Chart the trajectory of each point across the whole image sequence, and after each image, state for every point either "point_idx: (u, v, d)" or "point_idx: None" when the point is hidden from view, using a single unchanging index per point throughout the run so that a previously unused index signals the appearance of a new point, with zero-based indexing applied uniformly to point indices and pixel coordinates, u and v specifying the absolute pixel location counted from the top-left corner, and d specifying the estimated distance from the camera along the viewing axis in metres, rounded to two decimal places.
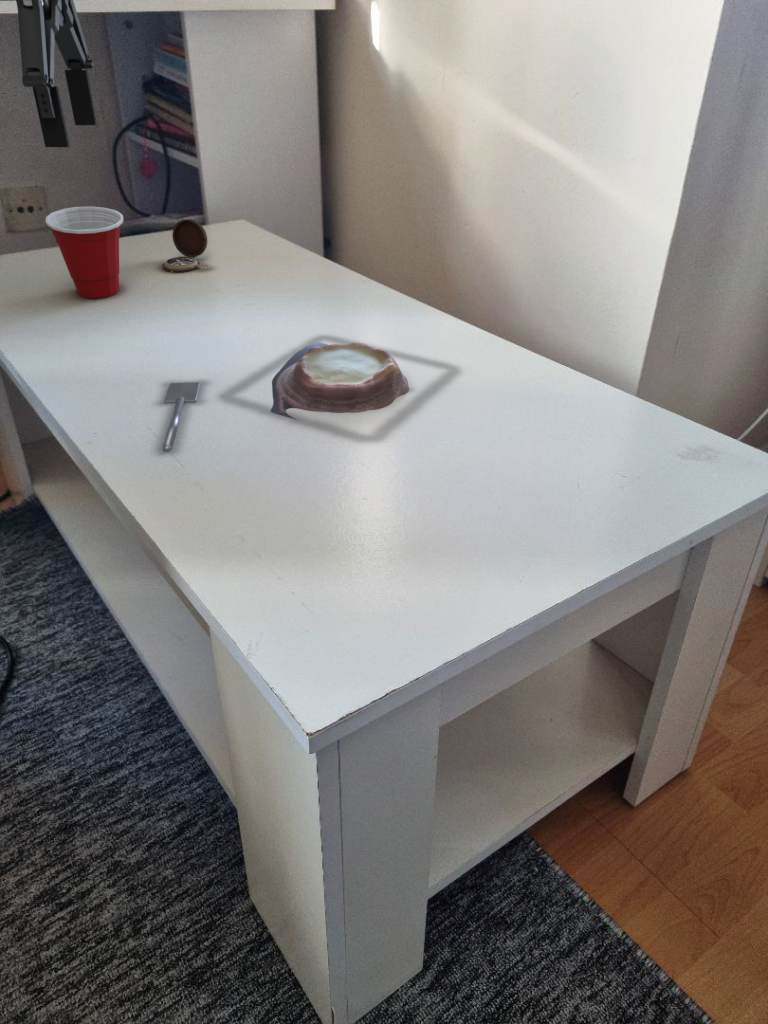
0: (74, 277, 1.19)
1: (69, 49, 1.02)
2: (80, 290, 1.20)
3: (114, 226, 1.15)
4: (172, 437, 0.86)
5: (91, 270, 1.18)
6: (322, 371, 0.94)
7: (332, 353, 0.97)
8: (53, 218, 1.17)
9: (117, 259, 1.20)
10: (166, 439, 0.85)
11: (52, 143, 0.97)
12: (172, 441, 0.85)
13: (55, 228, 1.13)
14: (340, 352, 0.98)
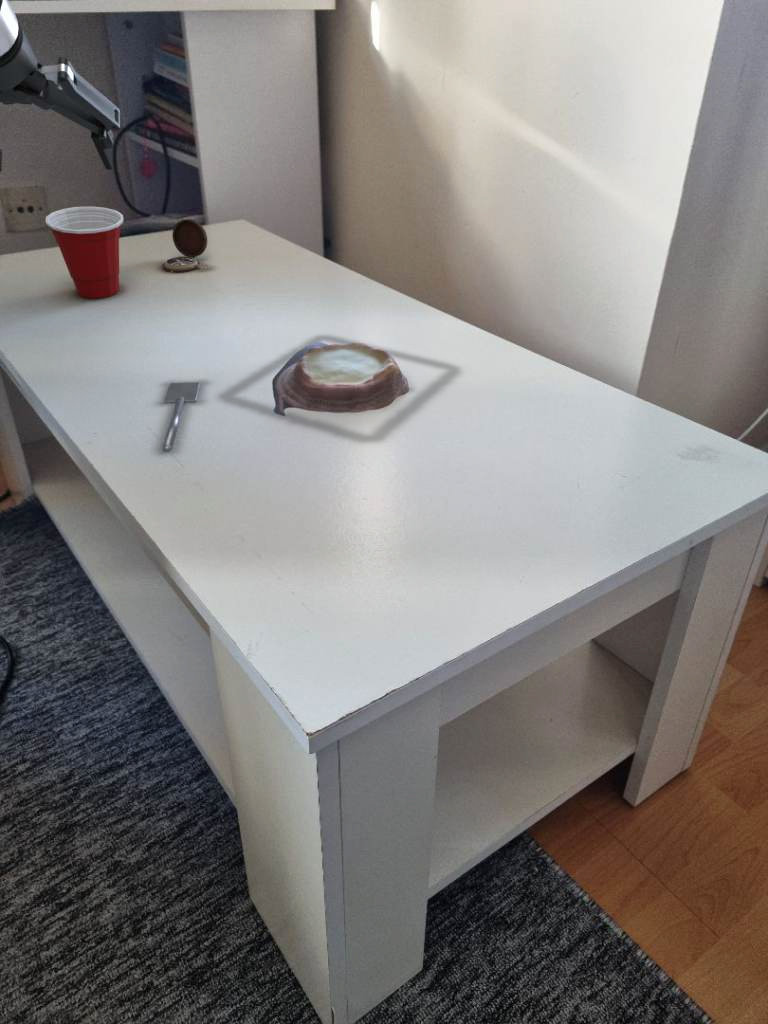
0: (74, 277, 1.19)
1: None
2: (80, 290, 1.20)
3: (114, 226, 1.15)
4: (172, 437, 0.86)
5: (91, 270, 1.18)
6: (322, 371, 0.94)
7: (332, 354, 0.97)
8: (53, 218, 1.17)
9: (117, 259, 1.20)
10: (166, 439, 0.85)
11: None
12: (172, 441, 0.85)
13: (55, 228, 1.13)
14: (340, 352, 0.98)
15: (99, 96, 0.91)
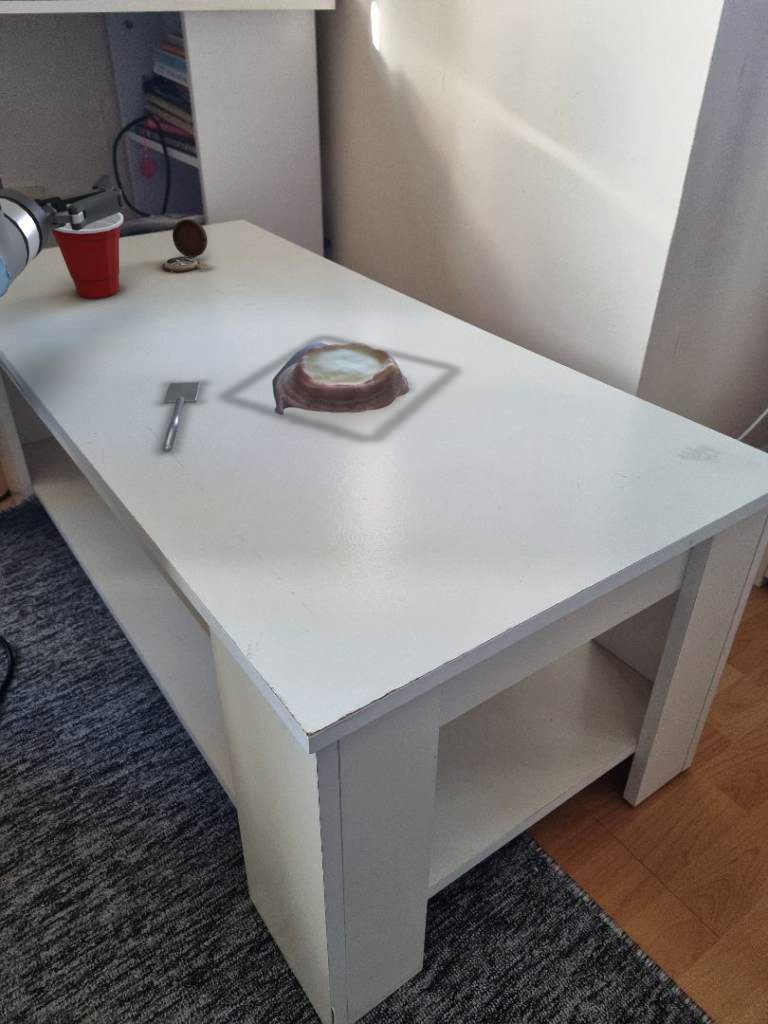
0: (74, 277, 1.19)
1: None
2: (80, 290, 1.20)
3: (114, 226, 1.15)
4: (172, 437, 0.86)
5: (91, 270, 1.18)
6: (322, 371, 0.94)
7: (332, 354, 0.97)
8: None
9: (117, 259, 1.20)
10: (166, 439, 0.85)
11: None
12: (172, 441, 0.85)
13: None
14: (340, 352, 0.98)
15: (104, 201, 0.95)
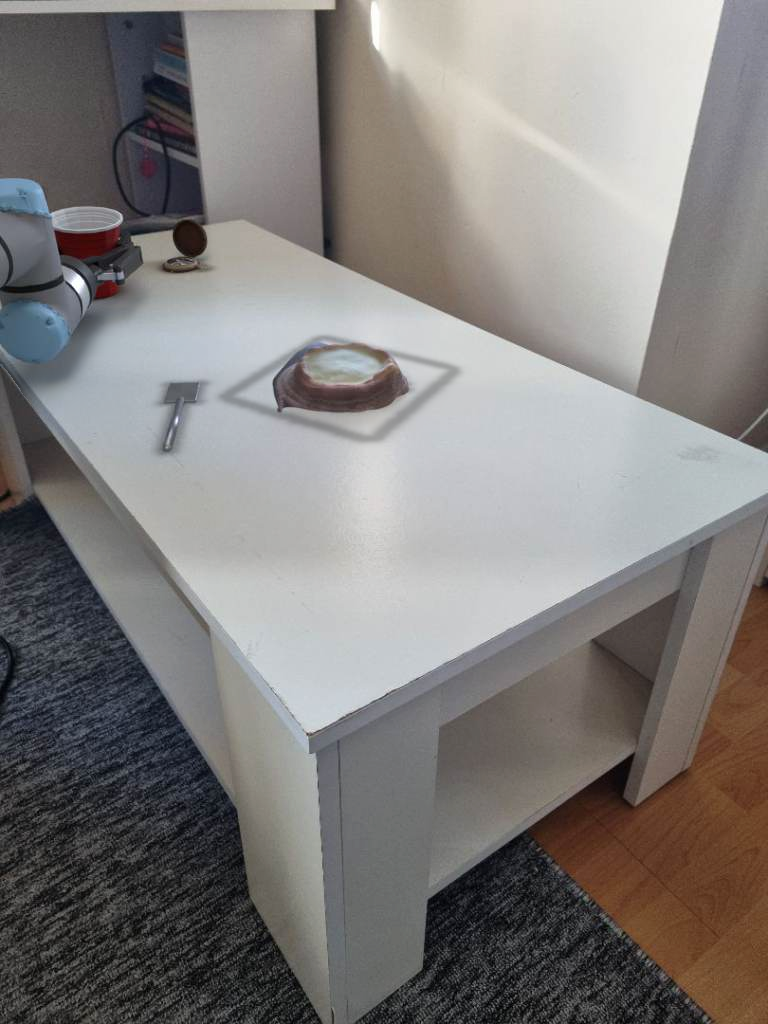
0: None
1: None
2: None
3: (114, 226, 1.15)
4: (172, 437, 0.86)
5: None
6: (322, 371, 0.94)
7: (332, 354, 0.97)
8: (53, 218, 1.17)
9: None
10: (166, 439, 0.85)
11: None
12: (172, 441, 0.85)
13: (55, 228, 1.13)
14: (340, 352, 0.98)
15: (132, 257, 1.14)
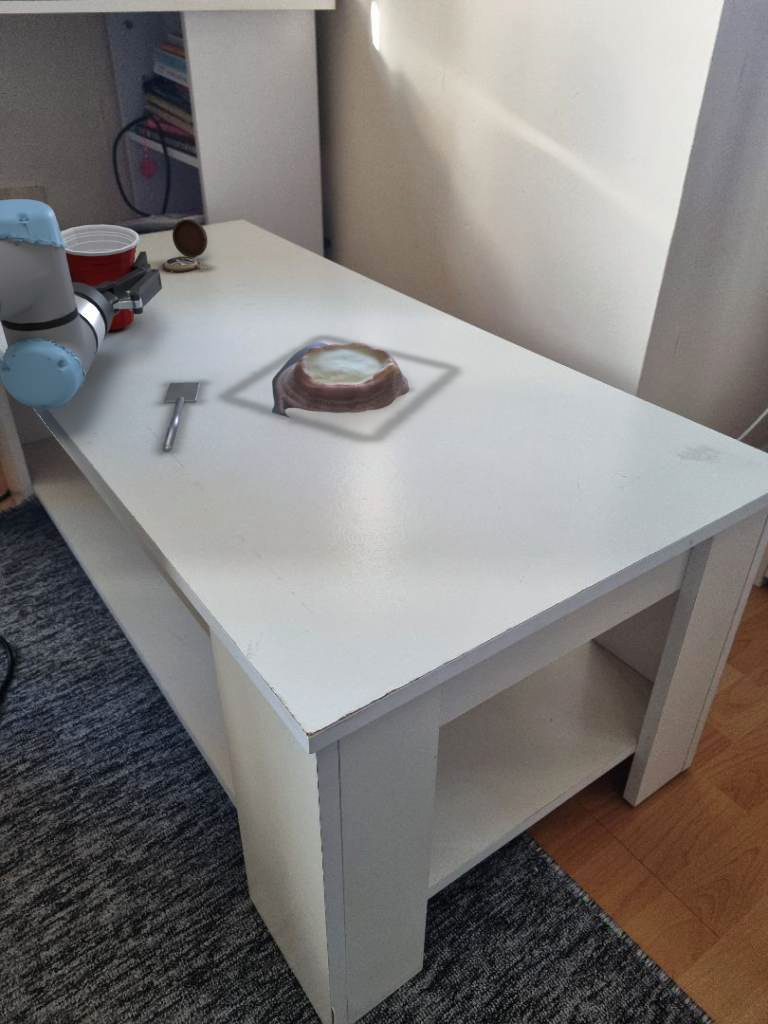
0: None
1: None
2: None
3: (129, 247, 1.03)
4: (172, 437, 0.86)
5: None
6: (322, 371, 0.94)
7: (332, 353, 0.97)
8: None
9: None
10: (166, 439, 0.85)
11: None
12: (172, 441, 0.85)
13: None
14: (340, 352, 0.98)
15: (151, 282, 1.02)
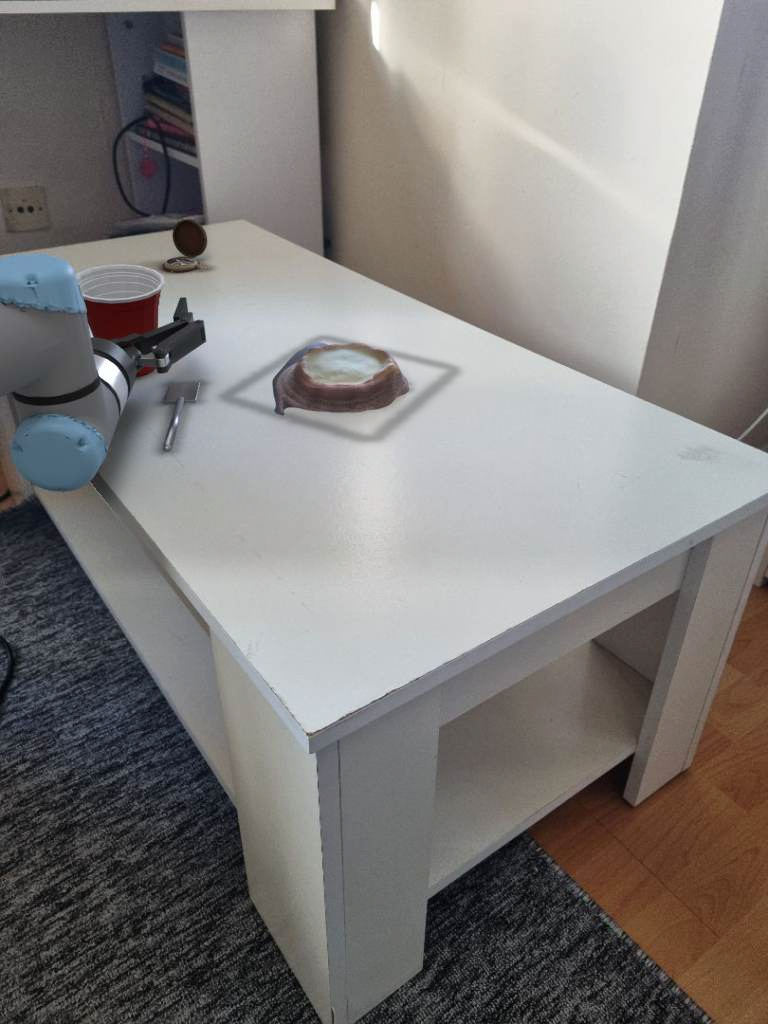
0: None
1: None
2: None
3: (154, 292, 0.93)
4: (172, 437, 0.86)
5: None
6: (322, 371, 0.94)
7: (332, 353, 0.97)
8: (78, 281, 0.95)
9: None
10: (166, 439, 0.85)
11: None
12: (172, 441, 0.85)
13: None
14: (340, 352, 0.98)
15: (188, 337, 0.91)
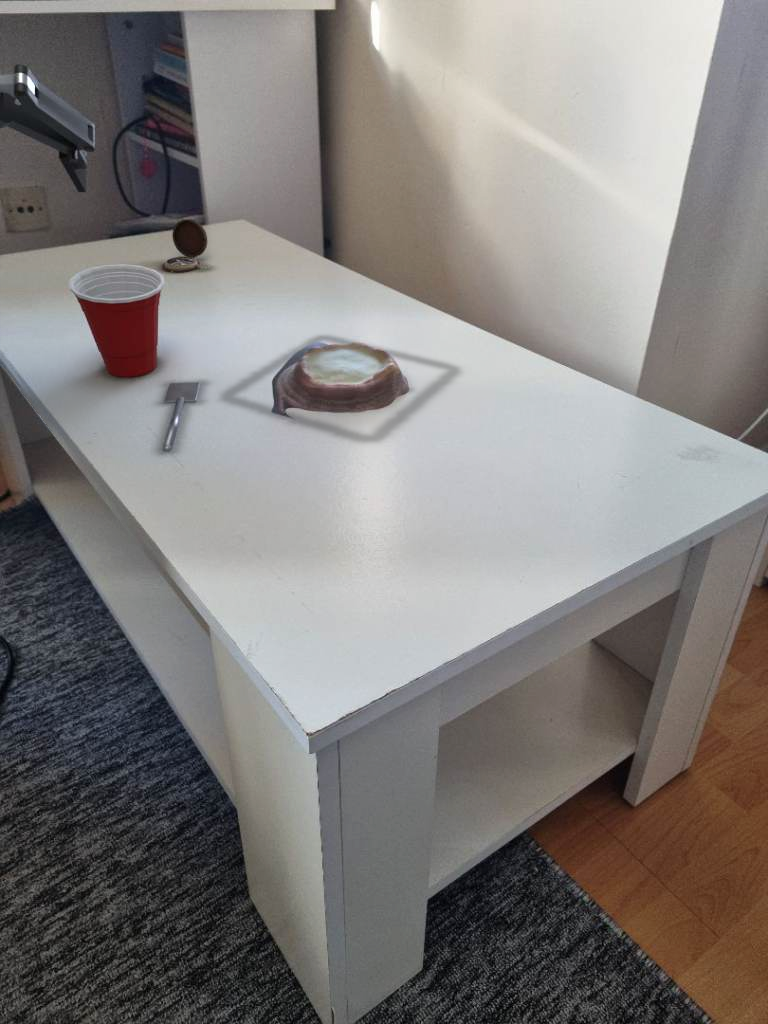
0: (103, 352, 0.97)
1: None
2: (111, 367, 0.98)
3: (154, 292, 0.93)
4: (172, 437, 0.86)
5: (125, 345, 0.95)
6: (322, 371, 0.94)
7: (332, 353, 0.97)
8: (78, 281, 0.95)
9: (156, 329, 0.98)
10: (166, 439, 0.85)
11: None
12: (172, 441, 0.85)
13: (82, 296, 0.91)
14: (340, 352, 0.98)
15: (68, 110, 0.73)
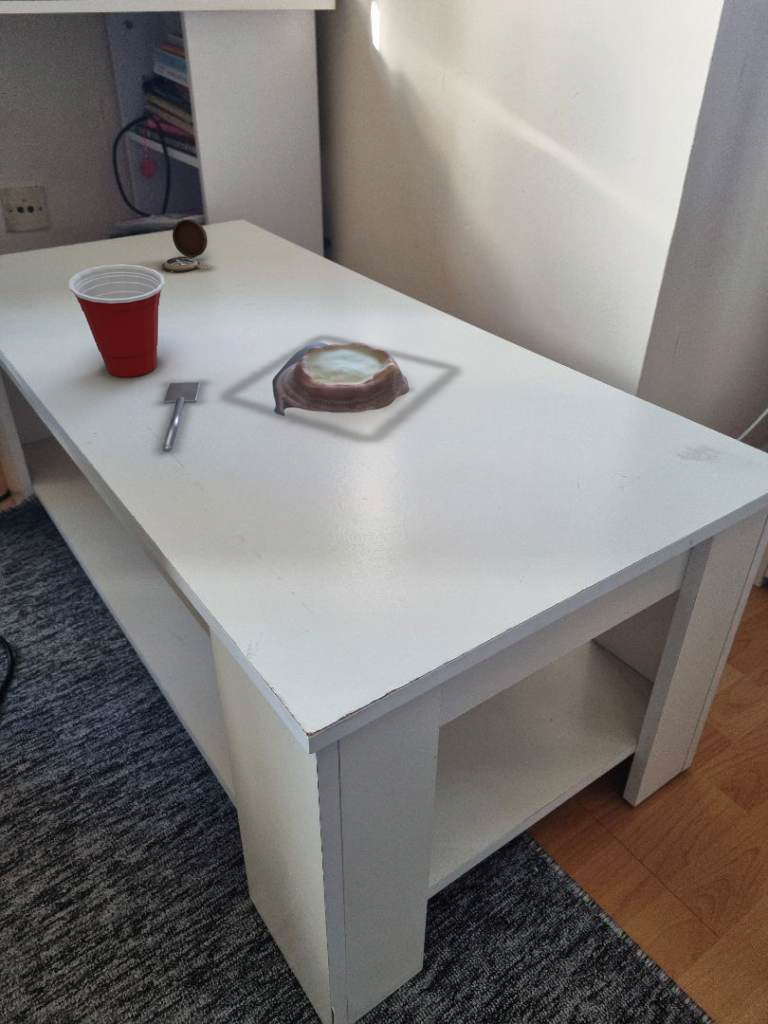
0: (103, 352, 0.97)
1: None
2: (111, 367, 0.98)
3: (154, 292, 0.93)
4: (172, 437, 0.86)
5: (125, 345, 0.95)
6: (322, 371, 0.94)
7: (332, 353, 0.97)
8: (78, 281, 0.95)
9: (156, 329, 0.98)
10: (166, 439, 0.85)
11: None
12: (172, 441, 0.85)
13: (82, 296, 0.91)
14: (340, 352, 0.98)
15: None
